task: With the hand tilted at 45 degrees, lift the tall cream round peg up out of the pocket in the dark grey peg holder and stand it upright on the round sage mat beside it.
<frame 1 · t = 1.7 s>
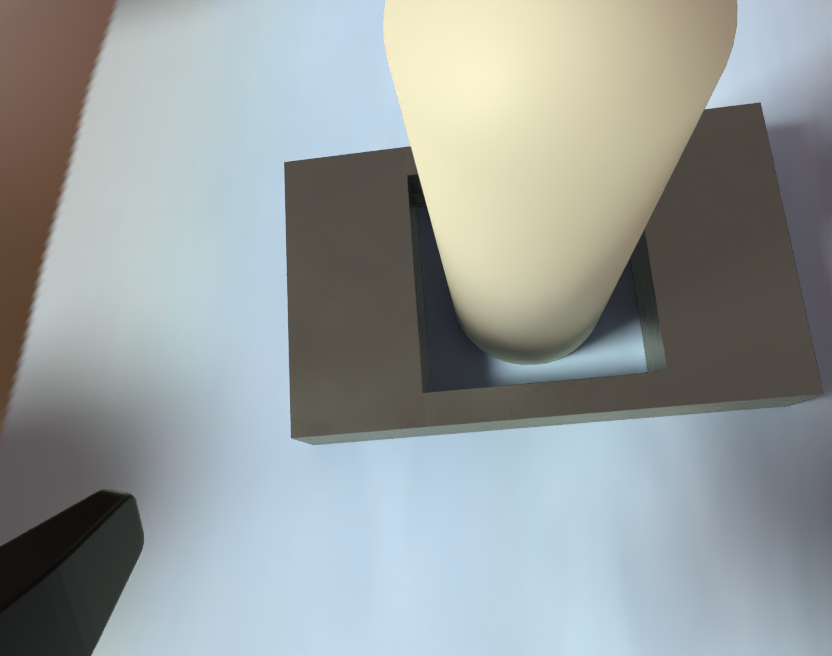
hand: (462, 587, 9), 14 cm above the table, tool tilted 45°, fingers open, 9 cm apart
dark grey peg holder: (527, 291, 24), on the table
cream round peg: (535, 207, 17), in the dark grey peg holder
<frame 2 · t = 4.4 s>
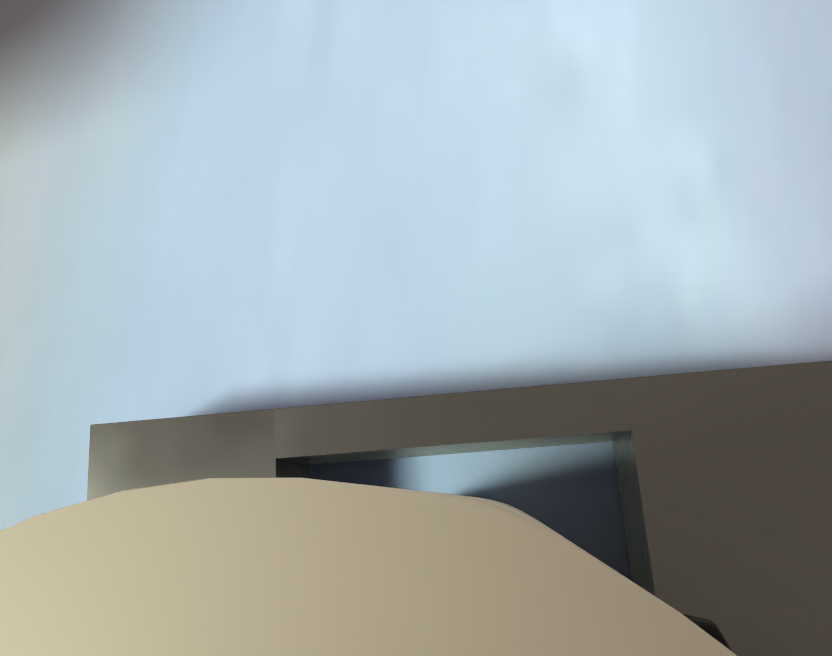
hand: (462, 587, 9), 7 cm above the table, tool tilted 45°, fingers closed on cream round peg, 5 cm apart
dark grey peg holder: (470, 615, 15), on the table
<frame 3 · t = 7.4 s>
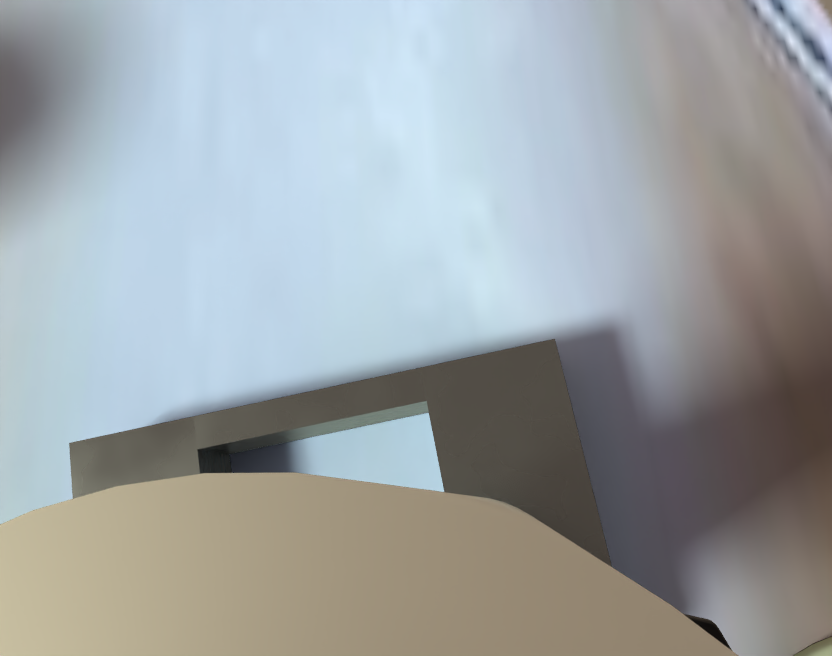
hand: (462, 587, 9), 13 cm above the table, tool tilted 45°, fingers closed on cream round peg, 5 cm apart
dark grey peg holder: (348, 542, 22), on the table
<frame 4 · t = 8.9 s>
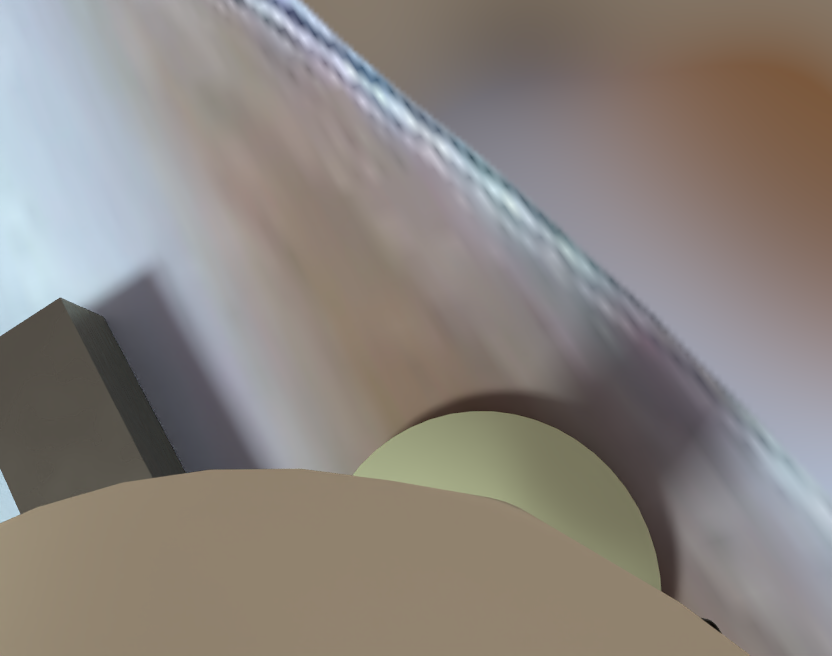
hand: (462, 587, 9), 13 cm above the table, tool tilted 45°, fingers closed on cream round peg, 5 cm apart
sage mat: (484, 579, 21), on the table
when the fingers open (9 cm above the table, at t = 10.2 s): cream round peg stays where it is, resting on sage mat.
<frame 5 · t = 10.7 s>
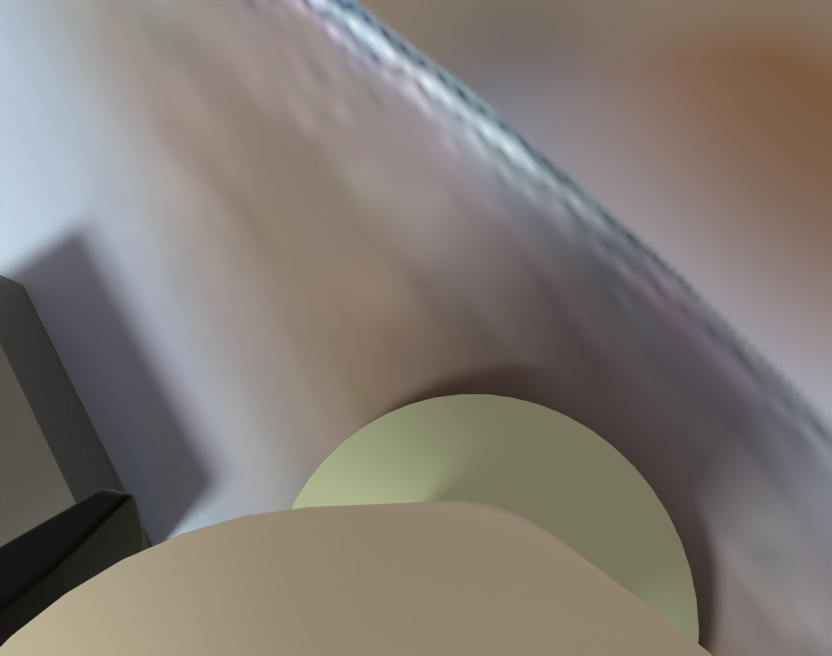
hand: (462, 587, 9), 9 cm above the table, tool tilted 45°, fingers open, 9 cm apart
sage mat: (475, 601, 17), on the table
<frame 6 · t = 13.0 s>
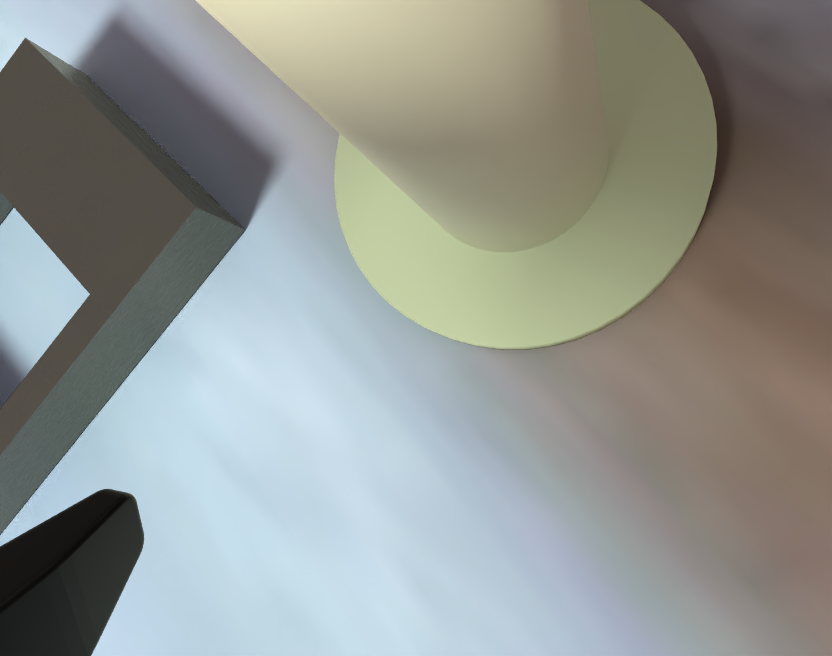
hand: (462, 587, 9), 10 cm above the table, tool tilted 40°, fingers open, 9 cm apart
dark grey peg holder: (27, 319, 24), on the table
sage mat: (516, 168, 19), on the table
cream round peg: (432, 13, 12), on the sage mat, point 8 cm above the table
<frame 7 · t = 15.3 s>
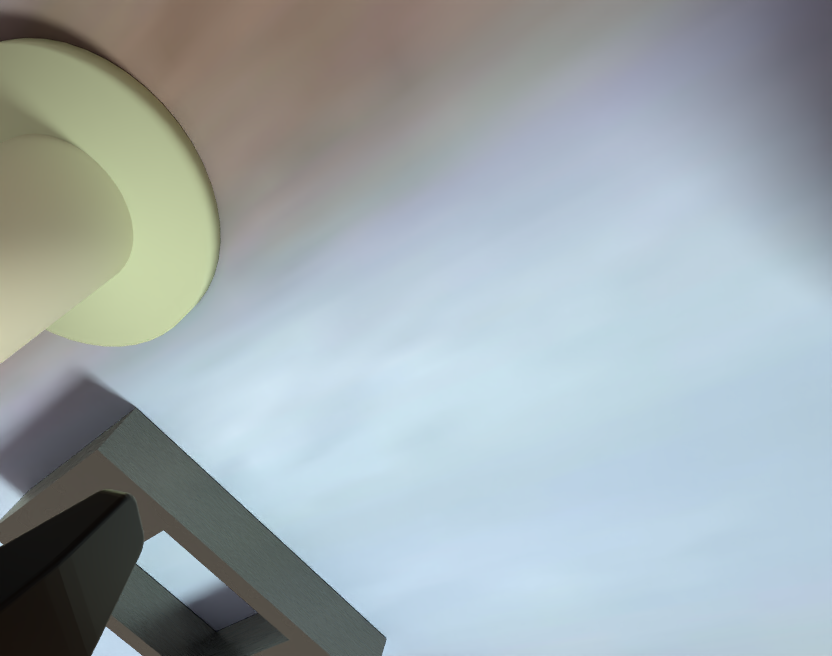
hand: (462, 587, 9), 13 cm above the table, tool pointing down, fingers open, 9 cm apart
dark grey peg holder: (206, 564, 32), on the table
sage mat: (78, 200, 23), on the table
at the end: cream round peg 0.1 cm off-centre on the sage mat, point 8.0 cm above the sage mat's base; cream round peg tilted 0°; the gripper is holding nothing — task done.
